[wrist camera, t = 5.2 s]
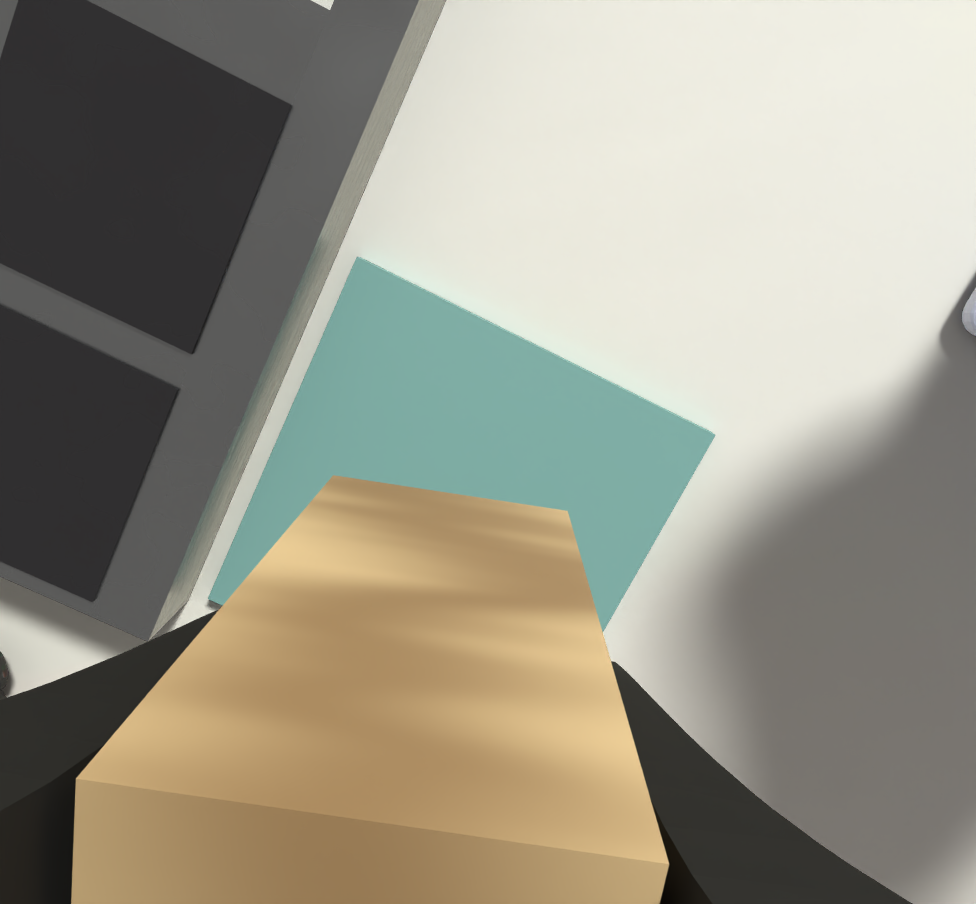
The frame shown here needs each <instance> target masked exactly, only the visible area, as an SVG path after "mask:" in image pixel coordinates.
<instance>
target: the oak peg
mask: <svg viewBox="0 0 976 904" xmlns="http://www.w3.org/2000/svg"><path fill="white" fill-rule="evenodd" d="M668 867H669V862H668V858H667V855H666V851H665V848H664V844H663V841H662V837H661V834H660V830H659V827H658V823H657V820H656V817H655V813H654V810H653V806H652V803H651V799H650V796H649V792H648V789H647V785H646V782H645V778H644V775H643V771H642V768H641V764H640V761H639V757H638V754H637V750H636V747H635V743H634V740H633V737H632V733H631V730H630V726H629V723H628V719H627V716H626V712H625V709H624V705H623V702H622V698H621V695H620V691H619V688H618V684H617V681H616V677H615V674H614V670H613V667H612V663H611V660H610V657H609V653H608V650H607V646H606V643H605V639H604V636H603V632H602V629H601V625H600V622H599V618H598V615H597V611H596V608H595V604H594V601H593V597H592V594H591V590H590V587H589V583H588V580H587V576H586V573H585V570H584V566H583V563H582V559H581V556H580V552H579V549H578V545H577V542H576V538H575V535H574V531H573V528H572V524H571V521H570V517H569V514H568V511H565V510H558V509H552V508H545V507H539V506H532V505H526V504H519V503H513V502H506V501H499V500H493V499H486V498H480V497H473V496H467V495H460V494H453V493H447V492H440V491H434V490H427V489H421V488H414V487H407V486H401V485H394V484H388V483H381V482H375V481H368V480H361V479H355V478H348V477H342V476H335V475H333V476H332V477H331V478H330V480H329V481H328V482H327V483H326V484H325V485H324V487H323V488H322V489H321V490H320V491H319V493H318V494H317V495H316V496H315V497H314V498H313V500H312V501H311V502H310V503H309V504H308V506H307V507H306V508H305V509H304V510H303V511H302V513H301V514H300V515H299V516H298V517H297V519H296V520H295V521H294V522H293V523H292V524H291V526H290V527H289V528H288V529H287V530H286V531H285V533H284V534H283V535H282V536H281V537H280V539H279V540H278V541H277V542H276V543H275V544H274V546H273V547H272V548H271V549H270V550H269V552H268V553H267V554H266V555H265V556H264V557H263V559H262V560H261V561H260V562H259V563H258V565H257V566H256V567H255V568H254V569H253V570H252V572H251V573H250V574H249V575H248V576H247V577H246V579H245V580H244V581H243V582H242V583H241V585H240V586H239V587H238V588H237V589H236V590H235V592H234V593H233V594H232V595H231V596H230V598H229V599H228V600H227V601H226V602H225V603H224V605H223V606H222V607H221V608H220V609H219V611H218V612H217V613H216V614H215V615H214V616H213V618H212V619H211V620H210V621H209V622H208V623H207V625H206V626H205V627H204V628H203V629H202V631H201V632H200V633H199V634H198V635H197V636H196V638H195V639H194V640H193V641H192V642H191V644H190V645H189V646H188V647H187V648H186V649H185V651H184V652H183V653H182V654H181V655H180V657H179V658H178V659H177V660H176V661H175V662H174V664H173V665H172V666H171V667H170V668H169V669H168V671H167V672H166V673H165V674H164V675H163V677H162V678H161V679H160V680H159V681H158V682H157V684H156V685H155V686H154V687H153V688H152V690H151V691H150V692H149V693H148V694H147V695H146V697H145V698H144V699H143V700H142V701H141V703H140V704H139V705H138V706H137V707H136V708H135V710H134V711H133V712H132V713H131V714H130V715H129V717H128V718H127V719H126V720H125V721H124V723H123V724H122V725H121V726H120V727H119V728H118V730H117V731H116V732H115V733H114V734H113V736H112V737H111V738H110V739H109V740H108V741H107V743H106V744H105V745H104V746H103V747H102V748H101V750H100V751H99V752H98V753H97V754H96V756H95V757H94V758H93V759H92V760H91V761H90V763H89V764H88V765H87V766H86V767H85V769H84V770H83V771H82V772H81V773H80V774H79V776H78V777H77V778H76V790H75V817H74V843H73V870H72V897H71V904H660V900H661V896H662V892H663V888H664V884H665V879H666V875H667V871H668Z"/></svg>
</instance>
